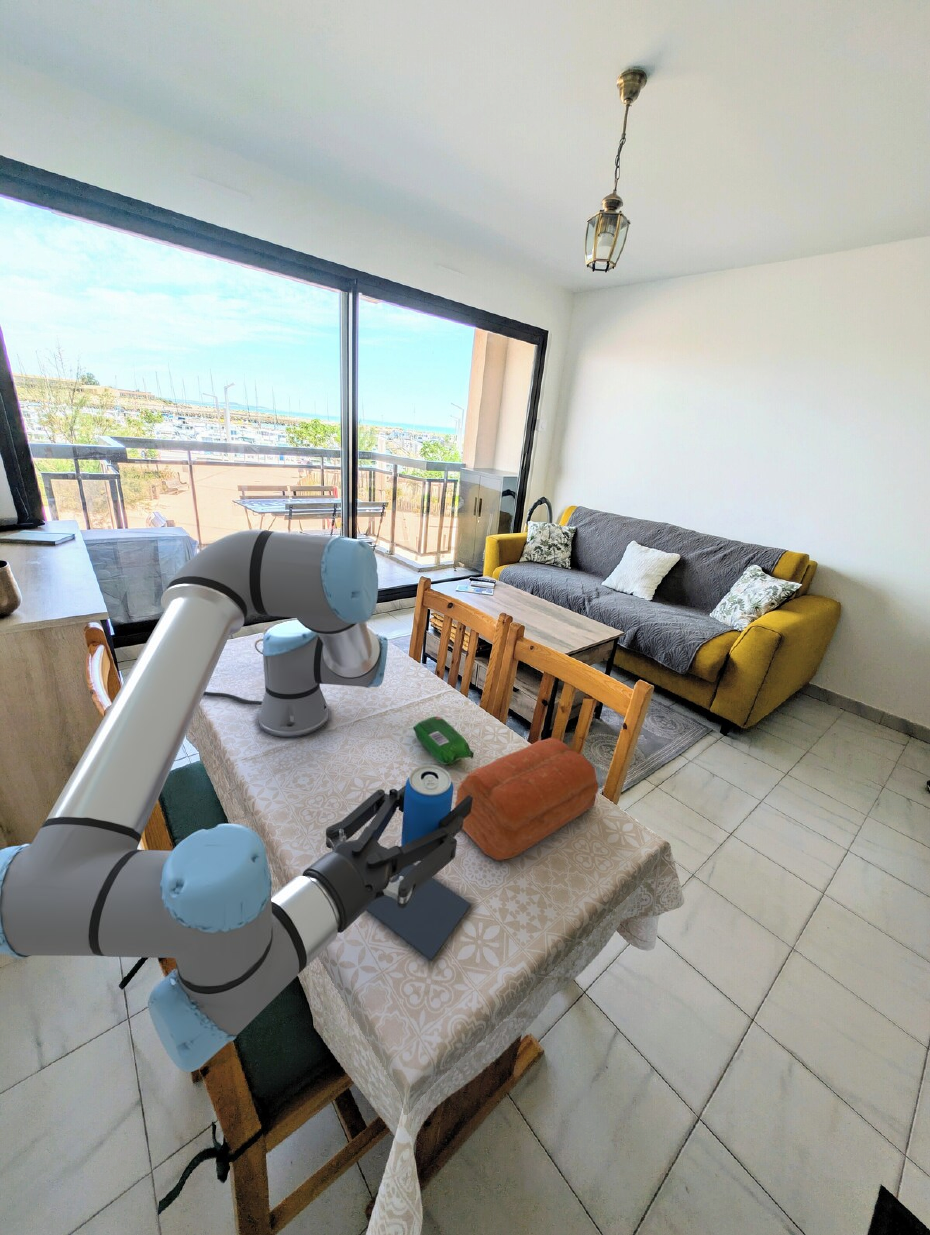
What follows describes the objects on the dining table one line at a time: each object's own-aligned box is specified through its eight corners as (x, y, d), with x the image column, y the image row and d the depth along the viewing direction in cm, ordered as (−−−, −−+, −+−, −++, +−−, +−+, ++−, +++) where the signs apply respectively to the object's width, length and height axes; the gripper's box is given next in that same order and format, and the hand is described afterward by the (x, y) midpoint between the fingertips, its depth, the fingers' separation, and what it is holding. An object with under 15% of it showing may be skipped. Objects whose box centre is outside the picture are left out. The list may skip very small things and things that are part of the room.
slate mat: (365, 909, 69) (365, 907, 68) (409, 863, 77) (409, 861, 76) (431, 961, 63) (431, 959, 63) (470, 905, 71) (471, 903, 71)
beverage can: (443, 827, 70) (450, 762, 66) (449, 864, 64) (458, 795, 60) (399, 829, 69) (404, 763, 65) (401, 867, 63) (407, 797, 59)
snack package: (446, 777, 97) (449, 756, 95) (409, 735, 108) (411, 716, 106) (474, 766, 101) (477, 746, 99) (435, 727, 112) (437, 708, 110)
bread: (600, 808, 93) (612, 765, 89) (501, 873, 77) (510, 824, 73) (543, 763, 104) (551, 723, 100) (446, 812, 88) (451, 766, 84)
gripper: (267, 877, 57) (399, 780, 75) (382, 990, 47) (502, 847, 65) (264, 830, 54) (402, 741, 72) (385, 939, 44) (510, 804, 62)
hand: (449, 791), depth 68 cm, fingers closed on beverage can, 6 cm apart
